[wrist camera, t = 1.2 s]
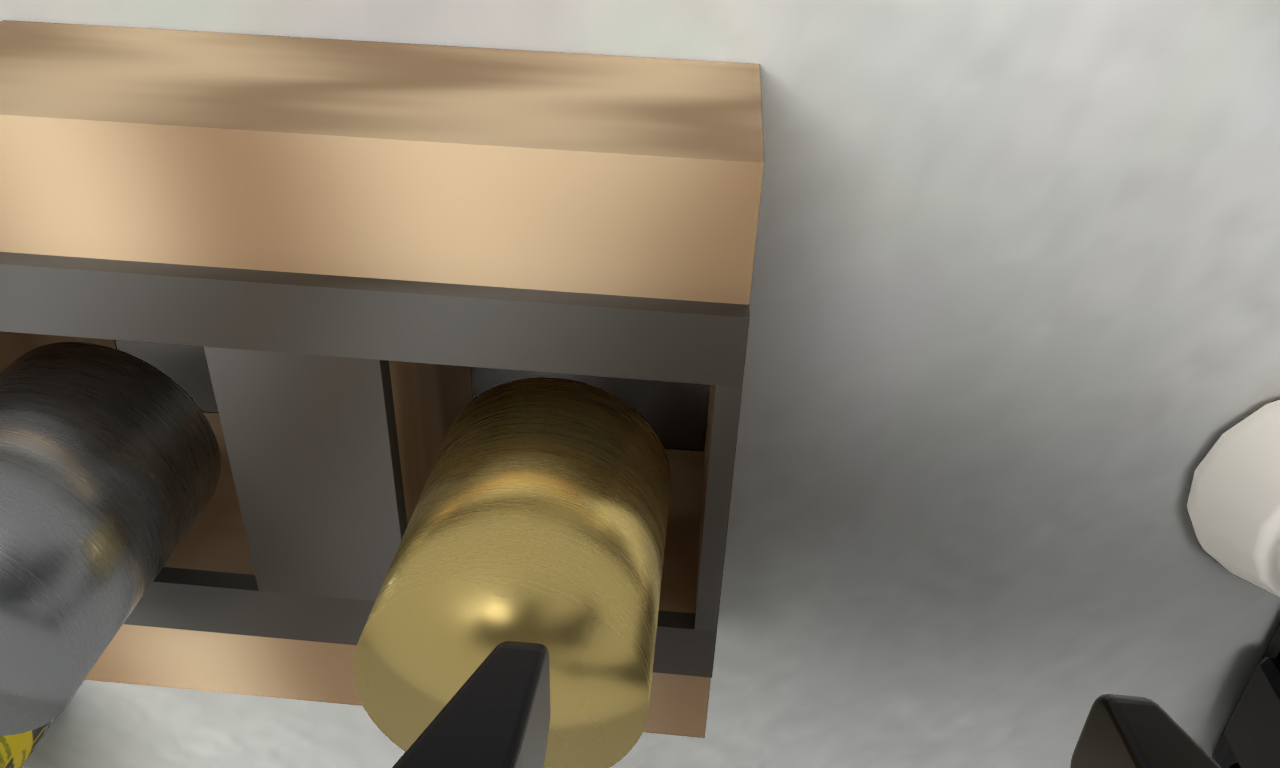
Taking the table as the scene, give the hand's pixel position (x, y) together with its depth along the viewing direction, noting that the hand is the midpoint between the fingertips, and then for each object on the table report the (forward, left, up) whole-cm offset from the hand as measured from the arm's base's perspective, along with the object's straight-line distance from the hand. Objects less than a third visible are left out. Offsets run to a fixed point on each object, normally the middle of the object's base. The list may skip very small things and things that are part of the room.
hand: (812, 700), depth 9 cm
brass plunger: (+4, +4, -8) cm, 10 cm away
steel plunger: (+12, +4, -8) cm, 15 cm away
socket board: (+8, +4, -12) cm, 15 cm away
